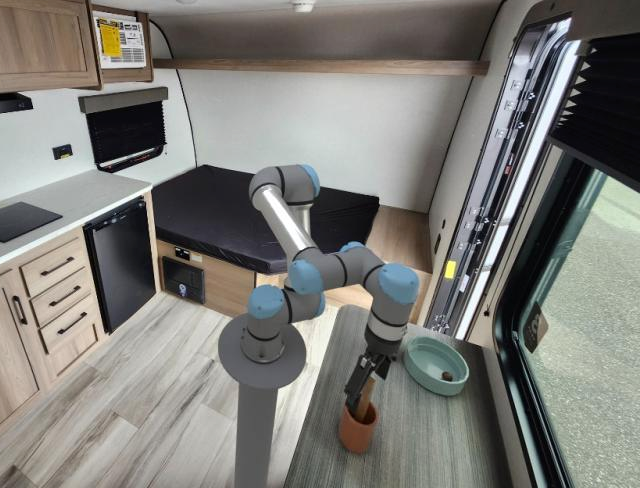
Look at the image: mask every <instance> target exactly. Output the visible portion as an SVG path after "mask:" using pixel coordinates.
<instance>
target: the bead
mask: <svg viewBox="0 0 640 488" xmlns="http://www.w3.org/2000/svg"><path fill="white" fill-rule="evenodd" d="M442 379H443V380H444V381H448V382H452V380H453V377H452V375H451V374H450V373H449V372H446V371H445V372H443V373H442Z"/></svg>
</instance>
